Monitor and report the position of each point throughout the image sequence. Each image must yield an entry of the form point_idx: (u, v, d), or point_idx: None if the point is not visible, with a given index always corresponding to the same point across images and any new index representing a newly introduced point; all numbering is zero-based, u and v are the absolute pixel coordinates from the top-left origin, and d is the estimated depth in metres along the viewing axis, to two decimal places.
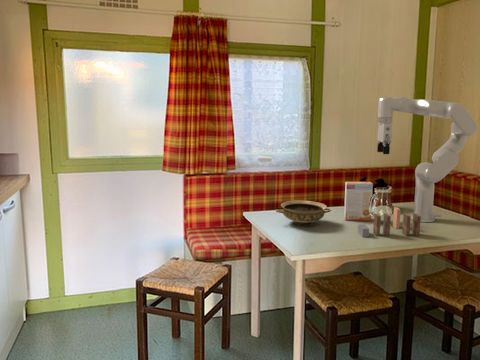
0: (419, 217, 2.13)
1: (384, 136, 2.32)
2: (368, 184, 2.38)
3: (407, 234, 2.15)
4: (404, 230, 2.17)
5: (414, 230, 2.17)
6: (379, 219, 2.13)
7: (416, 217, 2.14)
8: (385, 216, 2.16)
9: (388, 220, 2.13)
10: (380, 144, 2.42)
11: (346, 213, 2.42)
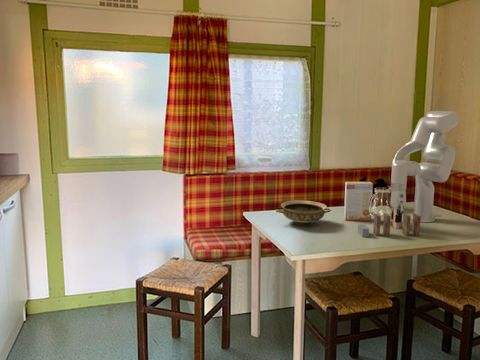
0: (419, 217, 2.13)
1: (398, 206, 2.23)
2: (368, 184, 2.38)
3: (407, 234, 2.15)
4: (404, 230, 2.17)
5: (414, 230, 2.16)
6: (379, 219, 2.13)
7: (416, 217, 2.14)
8: (385, 216, 2.16)
9: (388, 220, 2.13)
10: None
11: (346, 213, 2.42)
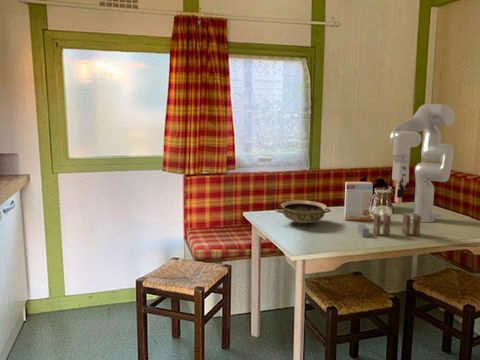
0: (419, 217, 2.13)
1: (400, 179, 2.07)
2: (368, 184, 2.38)
3: (407, 234, 2.15)
4: (404, 230, 2.17)
5: (414, 230, 2.16)
6: (379, 219, 2.13)
7: (416, 217, 2.14)
8: (385, 216, 2.16)
9: (388, 220, 2.13)
10: None
11: (346, 213, 2.42)
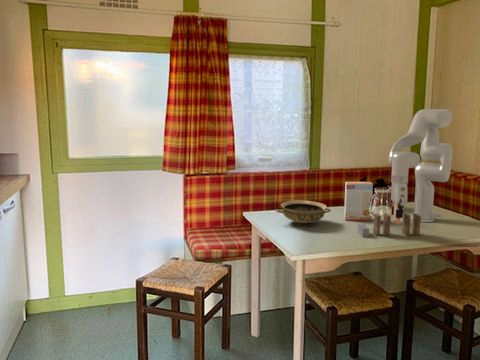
0: (419, 217, 2.13)
1: (398, 200, 2.09)
2: (368, 184, 2.38)
3: (407, 234, 2.15)
4: (404, 230, 2.17)
5: (414, 230, 2.16)
6: (379, 219, 2.13)
7: (416, 217, 2.14)
8: (385, 216, 2.16)
9: (388, 220, 2.13)
10: None
11: (346, 213, 2.42)
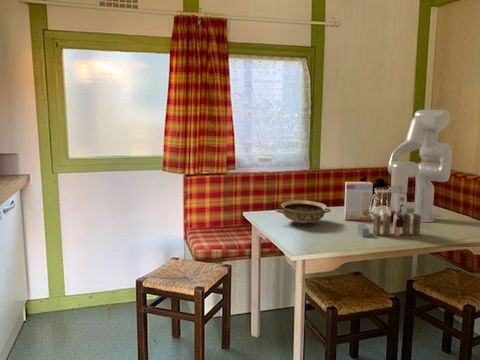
0: (419, 217, 2.13)
1: (398, 208, 2.10)
2: (368, 184, 2.38)
3: (407, 234, 2.15)
4: (404, 230, 2.17)
5: (414, 230, 2.16)
6: (379, 219, 2.13)
7: (416, 217, 2.14)
8: (385, 216, 2.16)
9: (388, 220, 2.13)
10: None
11: (346, 213, 2.42)
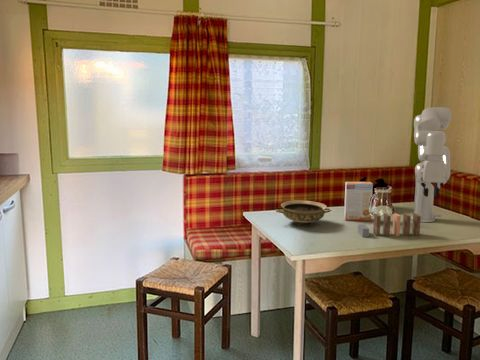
0: (419, 217, 2.13)
1: None
2: (368, 184, 2.38)
3: (407, 234, 2.15)
4: (404, 230, 2.17)
5: (414, 230, 2.17)
6: (379, 219, 2.13)
7: (416, 217, 2.14)
8: (385, 216, 2.16)
9: (388, 220, 2.13)
10: (435, 186, 2.13)
11: (346, 213, 2.42)
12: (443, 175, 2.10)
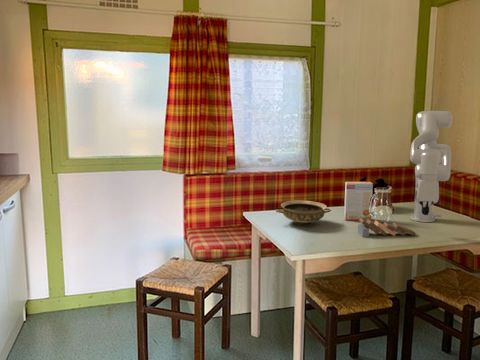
0: (398, 227, 2.14)
1: None
2: (368, 184, 2.38)
3: (403, 234, 2.15)
4: None
5: None
6: (365, 223, 2.13)
7: None
8: (368, 223, 2.16)
9: (373, 225, 2.14)
10: (426, 204, 2.15)
11: (346, 213, 2.42)
12: (437, 194, 2.11)
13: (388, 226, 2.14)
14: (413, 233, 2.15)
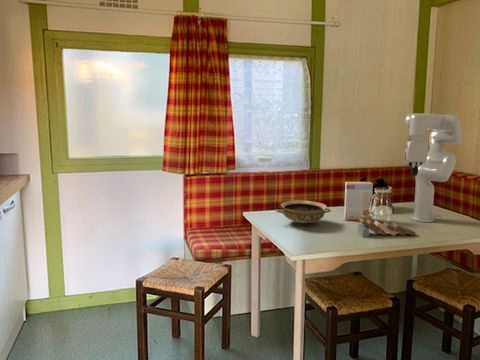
0: (398, 226, 2.14)
1: None
2: (368, 184, 2.38)
3: (403, 234, 2.15)
4: None
5: None
6: (365, 223, 2.13)
7: None
8: (368, 223, 2.16)
9: (373, 225, 2.14)
10: (415, 165, 2.26)
11: (346, 213, 2.42)
12: (425, 155, 2.22)
13: (388, 226, 2.14)
14: (413, 233, 2.15)
